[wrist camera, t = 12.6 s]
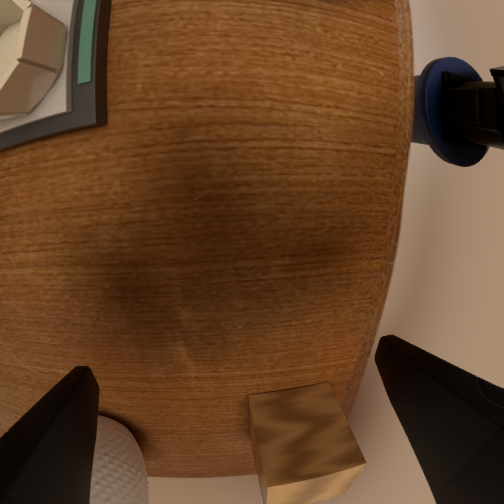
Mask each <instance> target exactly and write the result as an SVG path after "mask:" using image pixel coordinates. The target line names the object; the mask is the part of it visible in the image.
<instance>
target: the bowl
mask: <svg viewBox="0 0 504 504" xmlns="http://www.w3.org/2000/svg"><path fill="white" fill-rule="evenodd" d="M64 25H65V24H64V23H63V22H62V21H61V20H60V19H58V18H57V17H56V16H55V15H54V14H53V13H51V12H50V11H49V10H48V9H47V8H46V7H44V6H43V5H41V4H40V3H38V2H37V1H35V0H0V122H1V121H5V120H8V119H12V118H16V117H19V116H23V115H26V112H30V111H31V109H32V108H33V107H34V106H36V105H37V104H38V103H39V102H40V101H41V100H42V98H43V97H44V96H45V95H46V94H47V92H48V91H49V89H50V88H51V86H52V85H53V83H54V81H55V80H56V78H57V76H58V73H59V71H60V69H61V66H62V63H63V60H64V56H65V51H66V35H65V31H66V28H65V27H64Z"/></svg>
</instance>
